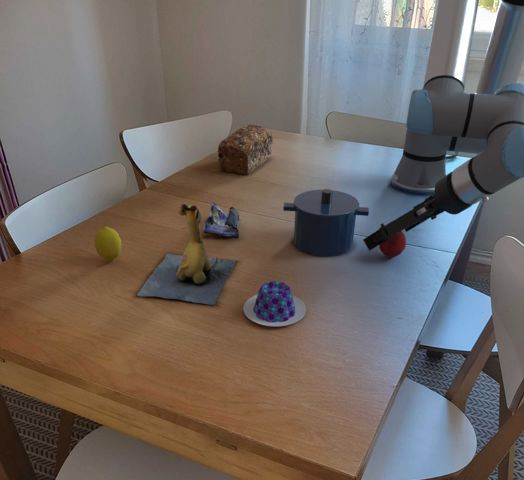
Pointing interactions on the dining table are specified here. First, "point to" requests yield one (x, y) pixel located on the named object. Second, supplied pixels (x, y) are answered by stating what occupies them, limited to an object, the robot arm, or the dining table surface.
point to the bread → (245, 149)
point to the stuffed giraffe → (189, 269)
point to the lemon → (108, 243)
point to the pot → (324, 232)
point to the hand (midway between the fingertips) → (386, 235)
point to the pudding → (274, 305)
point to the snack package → (223, 222)
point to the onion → (393, 245)
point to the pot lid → (326, 203)
